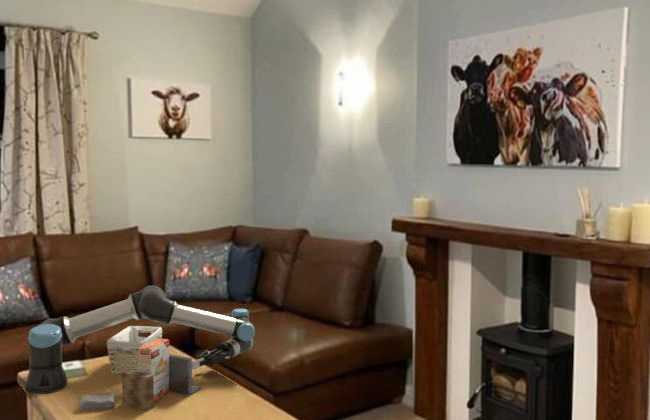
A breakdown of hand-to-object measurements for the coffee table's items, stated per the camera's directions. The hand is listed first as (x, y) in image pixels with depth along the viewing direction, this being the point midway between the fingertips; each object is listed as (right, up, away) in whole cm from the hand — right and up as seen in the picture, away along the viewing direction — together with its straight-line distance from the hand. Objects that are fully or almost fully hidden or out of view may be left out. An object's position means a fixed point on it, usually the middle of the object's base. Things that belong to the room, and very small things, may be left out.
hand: (192, 365), depth 254 cm
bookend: (-3, -8, -6) cm, 10 cm away
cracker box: (-11, -9, -15) cm, 20 cm away
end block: (-15, -9, -23) cm, 29 cm away
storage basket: (-29, -6, +21) cm, 36 cm away
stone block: (-30, -9, -22) cm, 38 cm away
